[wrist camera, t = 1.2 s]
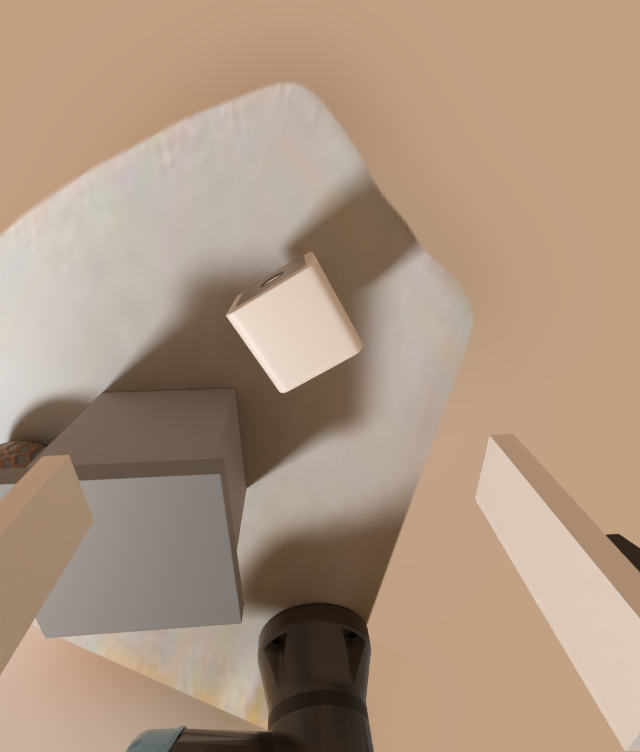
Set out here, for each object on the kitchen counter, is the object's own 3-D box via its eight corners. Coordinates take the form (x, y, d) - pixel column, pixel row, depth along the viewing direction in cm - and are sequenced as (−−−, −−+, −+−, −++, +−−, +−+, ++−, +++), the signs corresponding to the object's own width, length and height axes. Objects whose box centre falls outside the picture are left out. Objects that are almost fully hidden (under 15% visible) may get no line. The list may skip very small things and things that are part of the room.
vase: (77, 488, 38) (21, 563, 30) (4, 484, 37) (-74, 560, 29) (67, 431, 35) (2, 497, 27) (-12, 426, 34) (-104, 492, 26)
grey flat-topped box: (256, 495, 40) (241, 623, 28) (122, 502, 39) (45, 637, 27) (245, 378, 34) (219, 474, 22) (87, 383, 33) (-32, 486, 21)
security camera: (308, 244, 30) (317, 260, 21) (348, 317, 32) (371, 360, 23) (243, 284, 31) (222, 317, 21) (287, 352, 33) (286, 406, 24)
